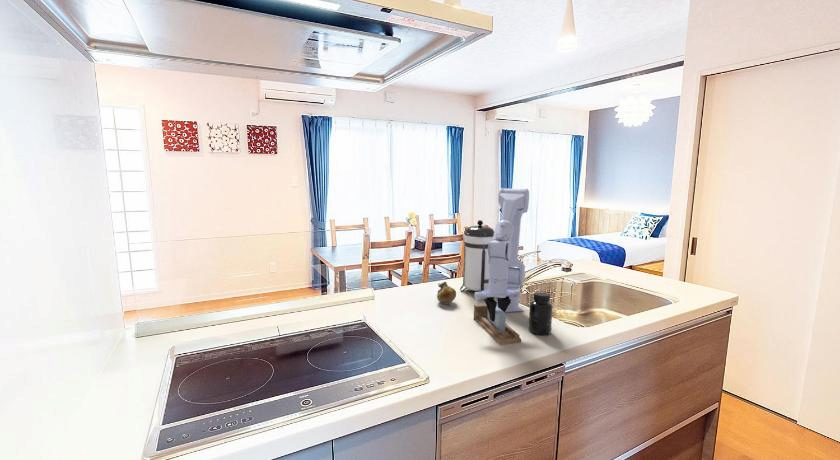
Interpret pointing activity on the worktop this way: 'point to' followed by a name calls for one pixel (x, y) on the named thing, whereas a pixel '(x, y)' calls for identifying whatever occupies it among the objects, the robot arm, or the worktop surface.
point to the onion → (445, 293)
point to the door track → (500, 337)
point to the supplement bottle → (540, 314)
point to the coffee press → (476, 257)
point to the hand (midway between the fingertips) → (496, 319)
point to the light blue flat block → (498, 319)
